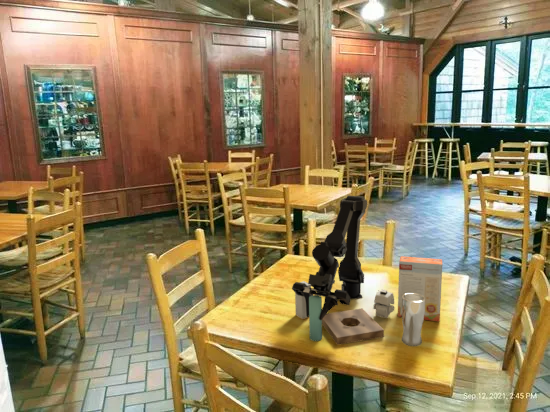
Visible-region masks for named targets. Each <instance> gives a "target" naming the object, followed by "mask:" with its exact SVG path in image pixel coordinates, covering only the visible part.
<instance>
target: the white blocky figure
mask: <svg viewBox="0 0 550 412" xmlns="http://www.w3.org/2000/svg"><path fill="white" fill-rule="evenodd" d="M394 305H395V296H394V293H393V292H390V291H388V290H385V289H381V290H377V292H376V294H375V297H374V304H373V309H374V310H375V315H376V317H381V318H384V319H387V318H389V316H390V315H391V313H392V312H394V311H395V306H394Z"/></svg>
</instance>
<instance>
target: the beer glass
mask: <svg viewBox="0 0 550 412" xmlns="http://www.w3.org/2000/svg"><path fill="white" fill-rule="evenodd" d="M401 315H402V317H401V320H402V327H403V328H402V329H403V331H402V337H401V342H402V343H403V344H404V345H405V346H407V347H408V346H409V347H418V346H421V345H422V344H423V339H422V328H423V324H424V321H425V320H424V315H425V298H424V296H422V295H420V294H417V293H406V294H404V295H403V296H402V305H401Z"/></svg>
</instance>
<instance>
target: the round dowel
mask: <svg viewBox="0 0 550 412" xmlns="http://www.w3.org/2000/svg"><path fill="white" fill-rule="evenodd" d="M322 302H323V296H318V295H312V296H310V297H309V317H308V318H309V319H308V322H309V326H308V327H309V330H308V331H309V340H310V341H312V342H319V341H321V340H323V325H322V320H320V319H319V318H320V313H321V311H322V308H323V304H322Z"/></svg>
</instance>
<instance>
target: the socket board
mask: <svg viewBox="0 0 550 412" xmlns="http://www.w3.org/2000/svg"><path fill="white" fill-rule="evenodd" d="M348 325H352V326H348ZM322 327H323V328H324V330H326V332H327V333H328V334H329V336H330V337H331V338H332V340H333V341H334V343H335V344H336V345H338V346H339V345H344V344H350V343H355V342H356V343H357V342H361V341H362V342H363V341H368V340H373V339H379V338H384V337H385V329H384V328H383V327H382V326H380V324H379V323H378V322H377V321H376V320H374V318H373V317H372V316H371V315H370V314H368V312H367V311H366V310H365V309H364V308H355V309H349V310H343V311H342V310H341V311H334V312H330V313H329V312H328V313H327V314H326V315H325V316H324V318H323V319H322Z"/></svg>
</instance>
